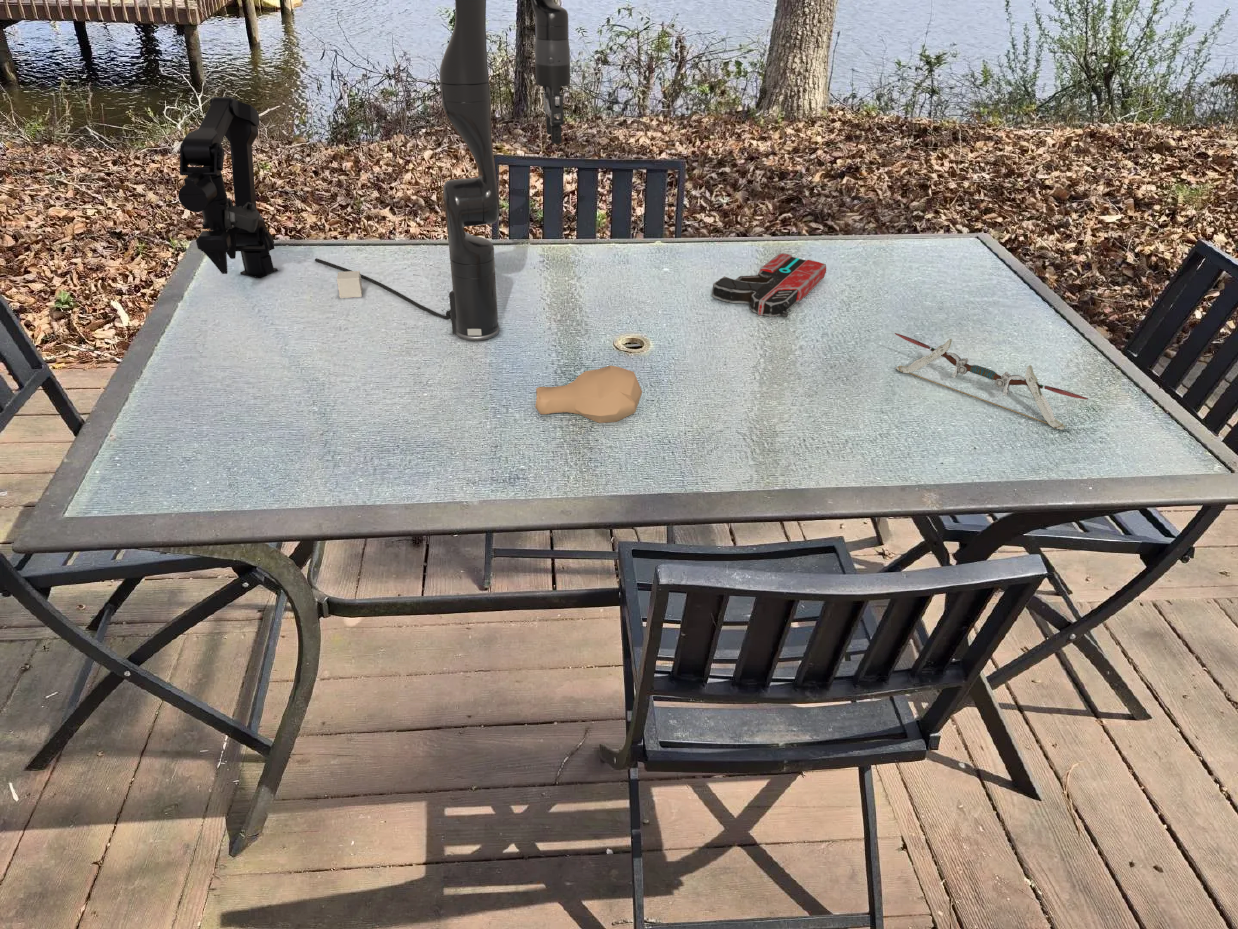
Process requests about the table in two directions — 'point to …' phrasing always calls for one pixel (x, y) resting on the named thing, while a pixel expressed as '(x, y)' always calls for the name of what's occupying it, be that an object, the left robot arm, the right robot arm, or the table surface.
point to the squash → (594, 395)
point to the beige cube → (349, 284)
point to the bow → (1000, 381)
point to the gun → (772, 285)
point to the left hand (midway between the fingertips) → (229, 265)
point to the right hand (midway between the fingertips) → (553, 138)
